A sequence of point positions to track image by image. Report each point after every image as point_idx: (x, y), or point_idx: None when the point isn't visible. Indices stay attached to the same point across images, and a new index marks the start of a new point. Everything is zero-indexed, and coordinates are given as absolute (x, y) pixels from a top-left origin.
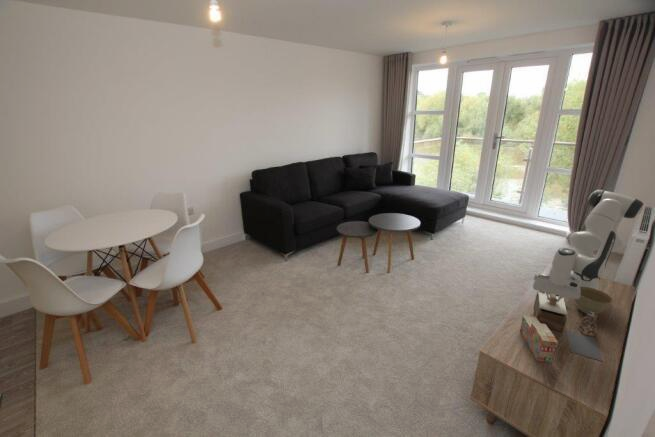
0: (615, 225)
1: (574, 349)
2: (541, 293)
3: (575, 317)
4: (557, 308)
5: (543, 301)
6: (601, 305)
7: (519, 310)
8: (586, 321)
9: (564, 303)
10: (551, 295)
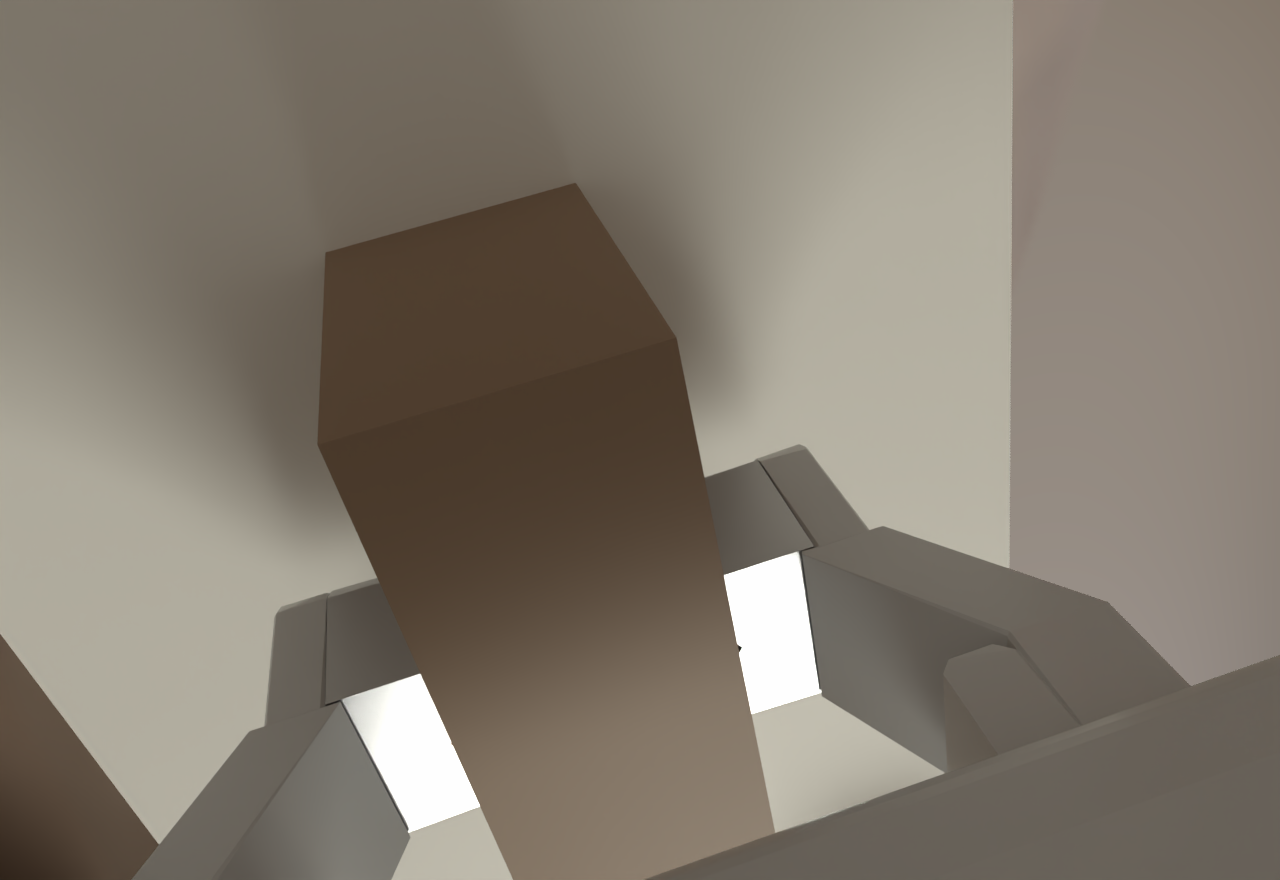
0: None
1: None
2: (932, 768)
3: (34, 732)
4: (159, 85)
5: (860, 287)
6: None
7: (1026, 129)
8: None
9: (115, 771)
10: (727, 762)
